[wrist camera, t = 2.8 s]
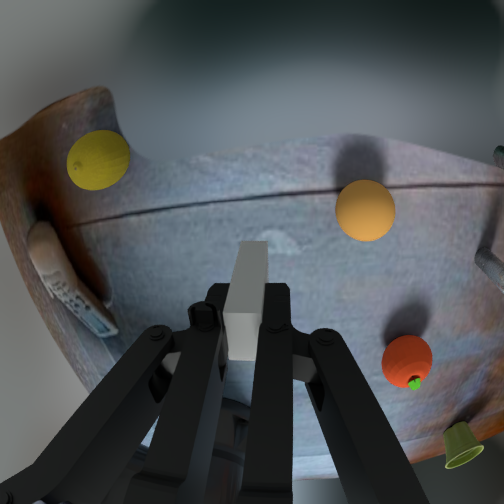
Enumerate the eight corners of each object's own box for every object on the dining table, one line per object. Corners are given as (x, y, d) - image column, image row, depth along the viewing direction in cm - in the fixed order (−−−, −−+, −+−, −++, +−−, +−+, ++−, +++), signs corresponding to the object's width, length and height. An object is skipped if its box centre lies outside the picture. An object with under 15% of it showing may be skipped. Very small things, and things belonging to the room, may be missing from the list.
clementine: (427, 351, 38) (442, 387, 31) (384, 371, 40) (395, 409, 33) (417, 315, 35) (437, 353, 28) (370, 338, 37) (382, 379, 30)
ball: (329, 227, 30) (339, 252, 25) (331, 172, 28) (343, 187, 23) (381, 227, 30) (399, 251, 25) (386, 174, 28) (407, 190, 23)
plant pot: (444, 422, 47) (455, 454, 39) (478, 411, 46) (490, 441, 38) (431, 442, 51) (439, 472, 43) (463, 433, 50) (473, 460, 42)
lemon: (148, 169, 29) (110, 191, 22) (105, 183, 30) (63, 207, 23) (134, 118, 27) (91, 126, 20) (91, 136, 28) (44, 149, 21)
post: (472, 265, 31) (509, 307, 23) (477, 247, 30) (517, 286, 22) (486, 265, 31) (523, 305, 23) (491, 247, 30) (531, 284, 22)
